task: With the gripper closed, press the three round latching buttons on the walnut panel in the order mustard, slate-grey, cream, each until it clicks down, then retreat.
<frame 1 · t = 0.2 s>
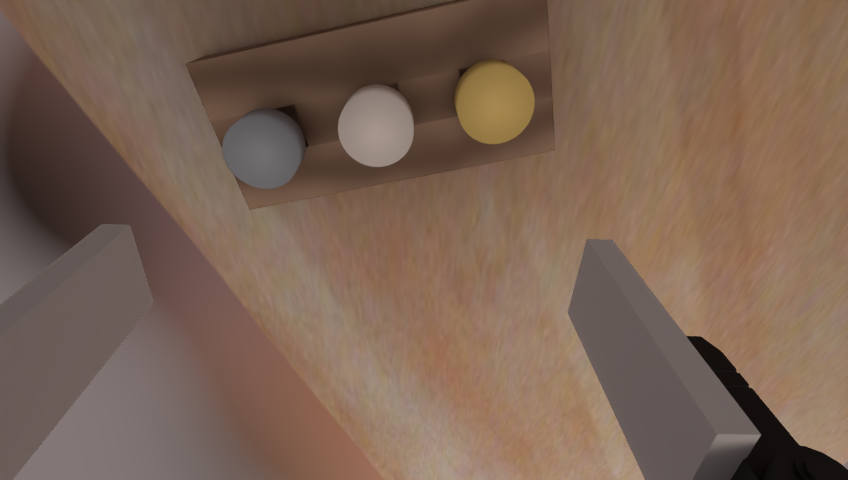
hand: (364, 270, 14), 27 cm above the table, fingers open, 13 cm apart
cream button: (378, 120, 32), point 6 cm above the table, slide at 0.0 cm
mustard button: (490, 97, 32), point 6 cm above the table, slide at 0.0 cm
panel: (382, 100, 38), on the table
slate button: (270, 142, 33), point 6 cm above the table, slide at 0.0 cm
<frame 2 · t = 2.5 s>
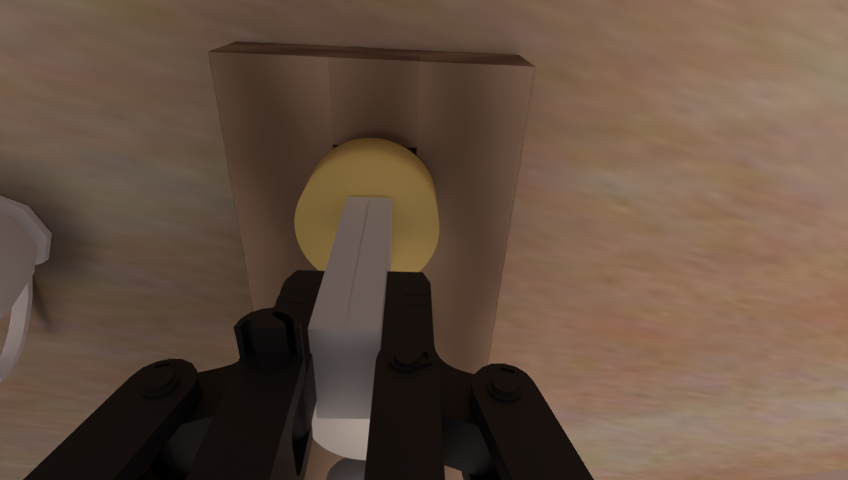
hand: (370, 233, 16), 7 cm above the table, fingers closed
cream button: (371, 373, 21), point 6 cm above the table, slide at 0.0 cm
mustard button: (372, 198, 18), point 4 cm above the table, slide at 1.5 cm, touching gripper
panel: (379, 295, 26), on the table
cup: (20, 254, 24), on the table
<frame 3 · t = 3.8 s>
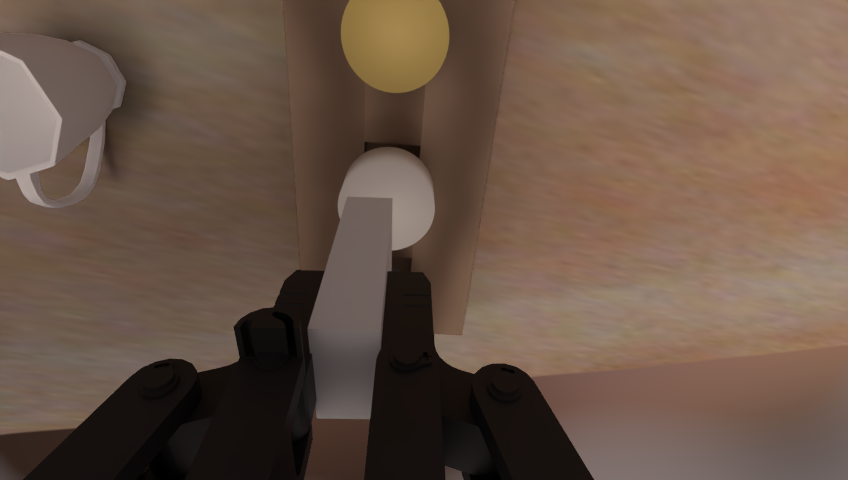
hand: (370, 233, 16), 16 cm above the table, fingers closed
cream button: (389, 189, 26), point 6 cm above the table, slide at 0.0 cm
mustard button: (397, 31, 23), point 4 cm above the table, slide at 1.7 cm
panel: (393, 154, 31), on the table
cup: (97, 101, 29), on the table
slate button: (383, 302, 30), point 6 cm above the table, slide at 0.0 cm
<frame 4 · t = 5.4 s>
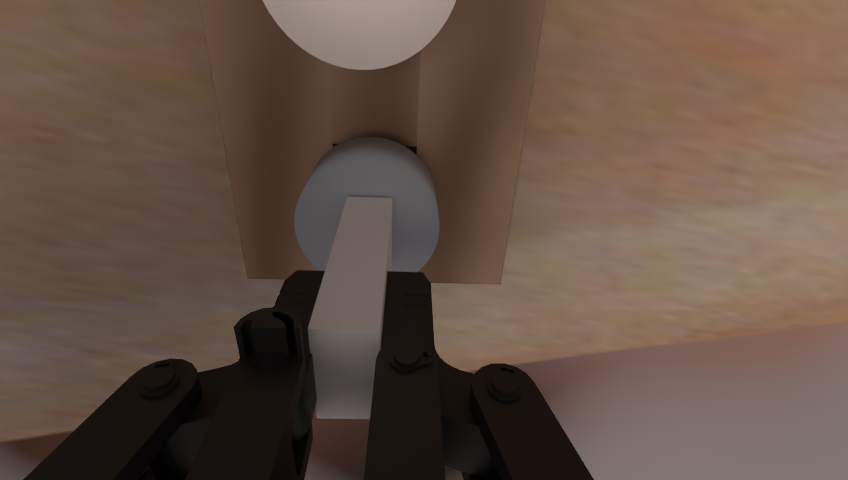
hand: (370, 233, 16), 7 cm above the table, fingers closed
slate button: (372, 197, 18), point 4 cm above the table, slide at 1.5 cm
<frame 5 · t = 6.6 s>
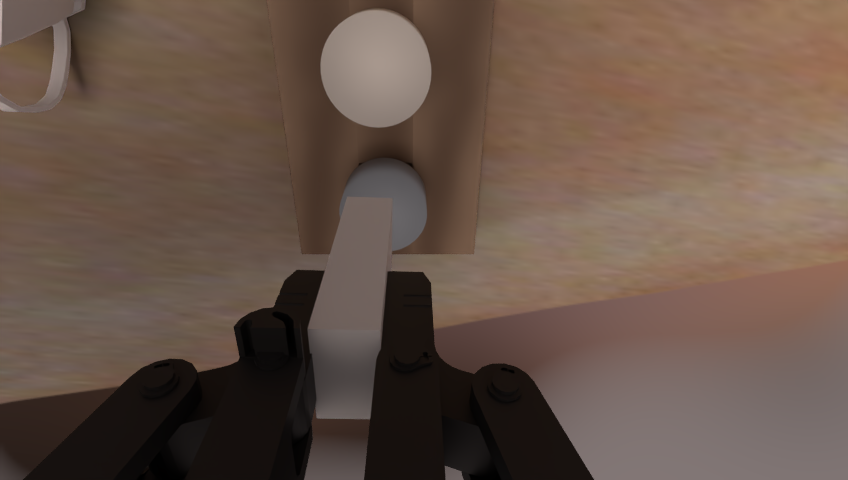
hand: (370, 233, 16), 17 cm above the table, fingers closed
cream button: (379, 63, 23), point 6 cm above the table, slide at 0.0 cm
panel: (385, 48, 28), on the table
cup: (59, 6, 27), on the table
slate button: (385, 195, 28), point 4 cm above the table, slide at 1.7 cm
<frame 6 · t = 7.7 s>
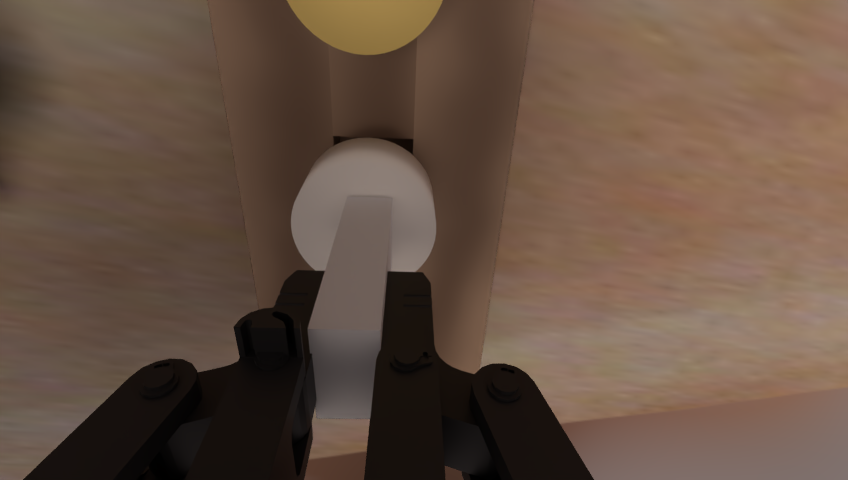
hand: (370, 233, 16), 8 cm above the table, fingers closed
cream button: (369, 198, 18), point 5 cm above the table, slide at 0.4 cm, touching gripper
panel: (377, 152, 23), on the table
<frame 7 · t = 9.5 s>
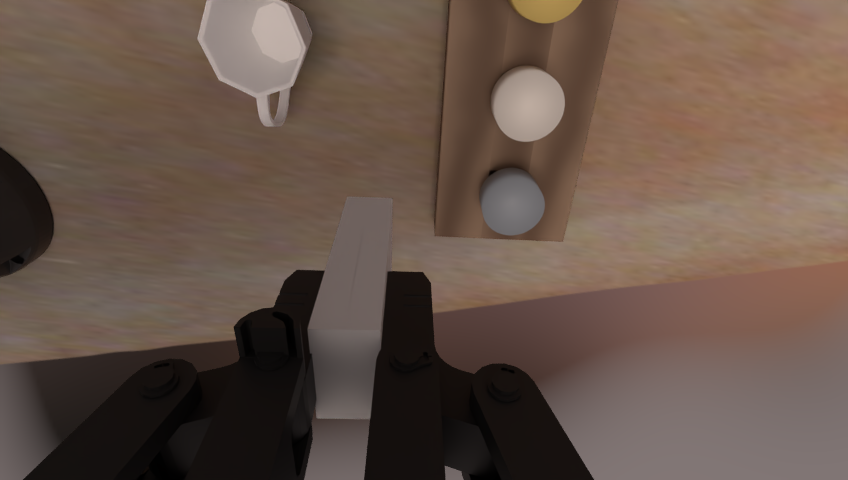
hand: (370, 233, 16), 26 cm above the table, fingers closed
cream button: (523, 99, 35), point 4 cm above the table, slide at 1.7 cm
panel: (513, 88, 39), on the table
cup: (287, 50, 38), on the table
slate button: (508, 195, 39), point 4 cm above the table, slide at 1.7 cm
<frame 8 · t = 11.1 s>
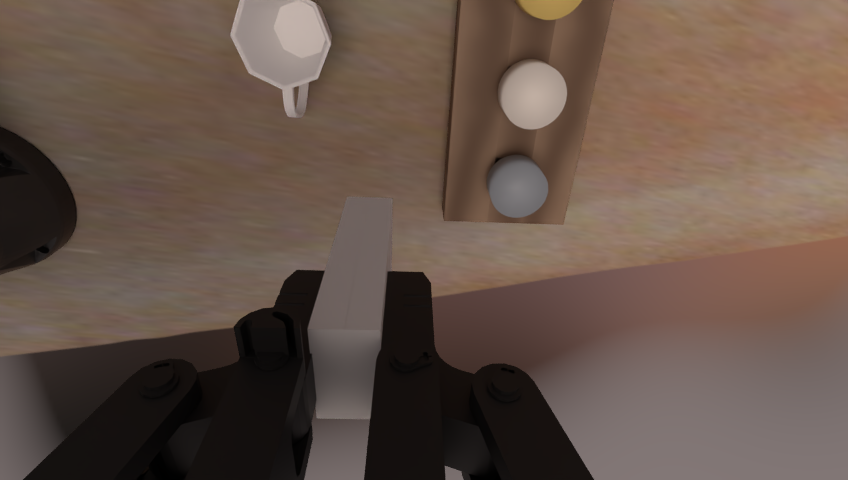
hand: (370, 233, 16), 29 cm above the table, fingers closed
cream button: (527, 90, 38), point 4 cm above the table, slide at 1.7 cm
panel: (517, 80, 42), on the table
cup: (305, 46, 40), on the table
slate button: (513, 180, 42), point 4 cm above the table, slide at 1.7 cm
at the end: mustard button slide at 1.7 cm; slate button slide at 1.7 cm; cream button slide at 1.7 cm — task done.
